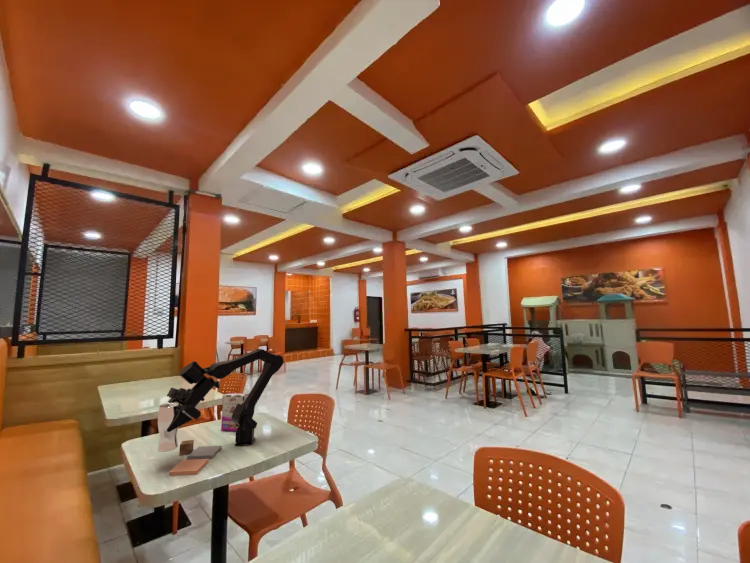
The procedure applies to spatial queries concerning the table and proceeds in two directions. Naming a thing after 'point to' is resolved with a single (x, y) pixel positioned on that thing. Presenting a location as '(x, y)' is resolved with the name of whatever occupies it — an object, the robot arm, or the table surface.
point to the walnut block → (186, 447)
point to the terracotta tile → (189, 467)
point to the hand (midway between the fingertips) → (164, 429)
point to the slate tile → (204, 452)
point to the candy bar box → (230, 410)
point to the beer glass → (164, 421)
